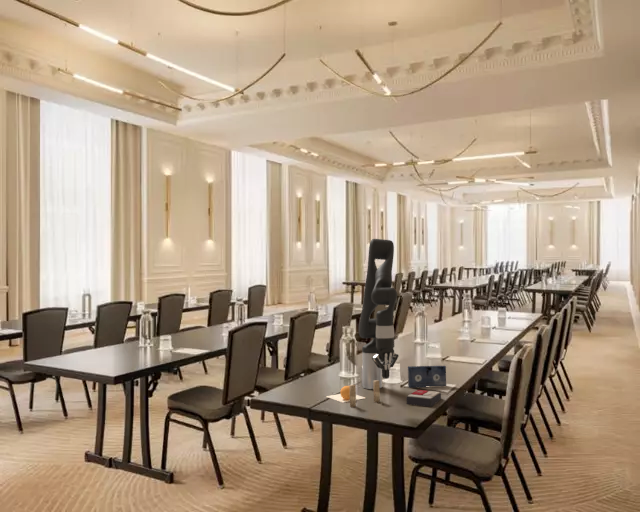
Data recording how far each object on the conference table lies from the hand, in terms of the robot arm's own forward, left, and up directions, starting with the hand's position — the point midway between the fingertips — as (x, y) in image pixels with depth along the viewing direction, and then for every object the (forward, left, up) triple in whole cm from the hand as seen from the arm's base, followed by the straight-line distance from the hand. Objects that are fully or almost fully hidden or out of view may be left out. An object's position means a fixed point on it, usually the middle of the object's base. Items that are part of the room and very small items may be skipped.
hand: (385, 378), depth 232 cm
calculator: (-2, +23, -14) cm, 27 cm away
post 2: (-14, +6, -14) cm, 21 cm away
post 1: (-14, -7, -14) cm, 21 cm away
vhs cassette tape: (-21, +44, -14) cm, 51 cm away
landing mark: (-28, 0, -14) cm, 31 cm away
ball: (-25, -1, -10) cm, 27 cm away
